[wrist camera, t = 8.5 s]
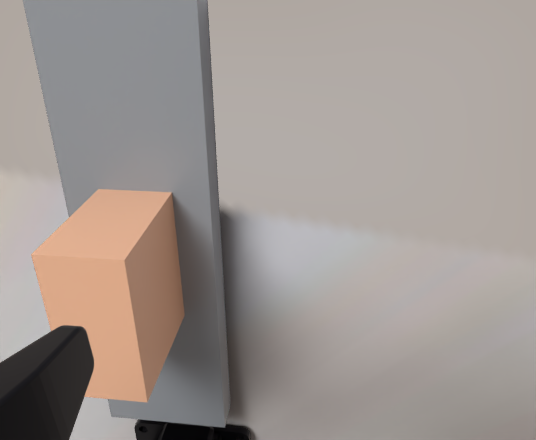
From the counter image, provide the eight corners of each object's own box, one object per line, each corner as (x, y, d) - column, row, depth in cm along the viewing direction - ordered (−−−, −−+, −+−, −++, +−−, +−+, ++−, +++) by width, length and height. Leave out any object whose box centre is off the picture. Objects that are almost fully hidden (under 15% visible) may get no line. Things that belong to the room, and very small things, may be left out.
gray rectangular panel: (230, 404, 27) (201, 525, 21) (122, 394, 27) (65, 509, 22) (207, -7, 18) (144, 11, 12) (44, -7, 18) (-89, 10, 13)
